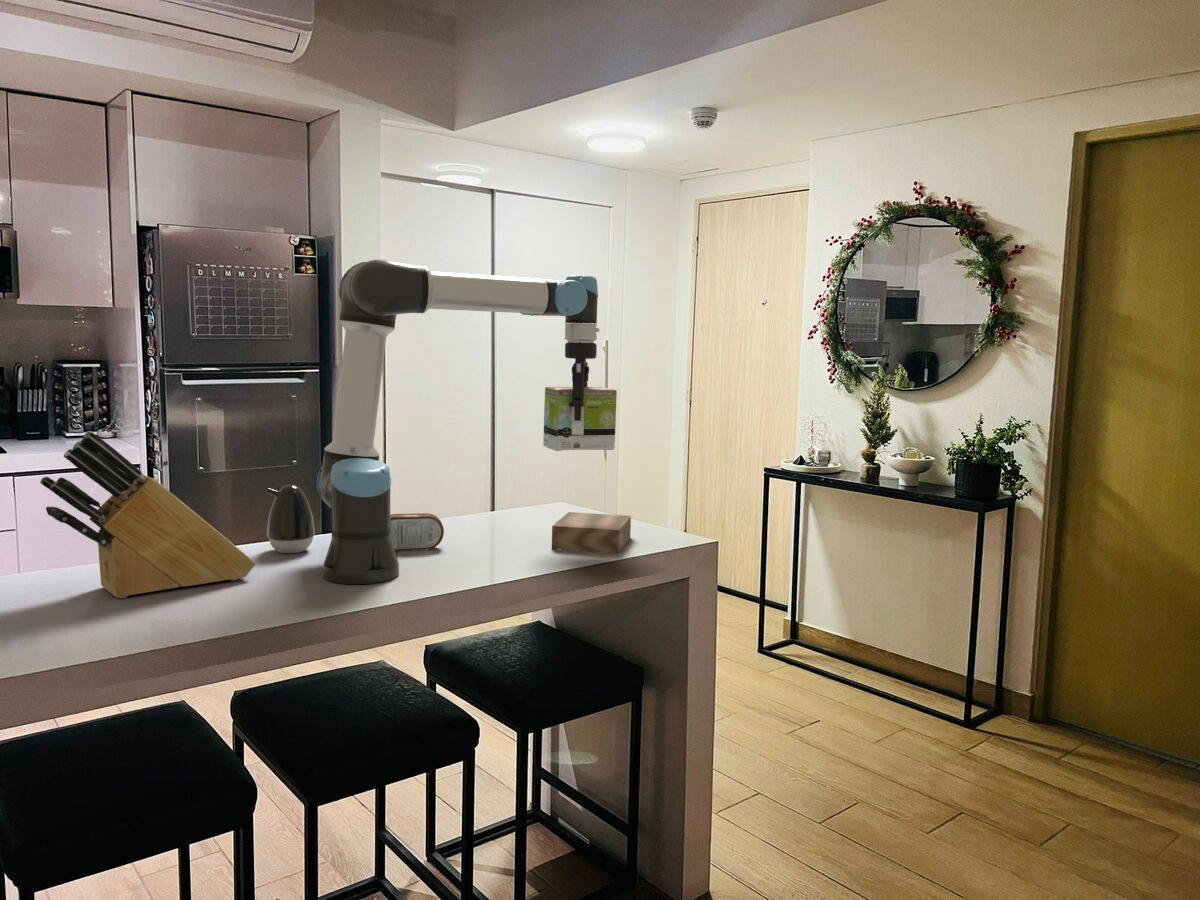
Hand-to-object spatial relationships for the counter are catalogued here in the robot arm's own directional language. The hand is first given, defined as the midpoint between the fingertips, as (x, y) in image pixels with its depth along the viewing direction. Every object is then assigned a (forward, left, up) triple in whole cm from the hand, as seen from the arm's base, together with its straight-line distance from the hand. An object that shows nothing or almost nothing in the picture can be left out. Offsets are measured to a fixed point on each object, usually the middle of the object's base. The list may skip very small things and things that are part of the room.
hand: (579, 431), depth 223 cm
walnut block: (+4, 0, -28) cm, 28 cm away
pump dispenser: (-63, -20, -27) cm, 72 cm away
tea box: (0, 0, -4) cm, 4 cm away
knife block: (-77, -53, -27) cm, 97 cm away
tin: (-37, -14, -27) cm, 48 cm away
